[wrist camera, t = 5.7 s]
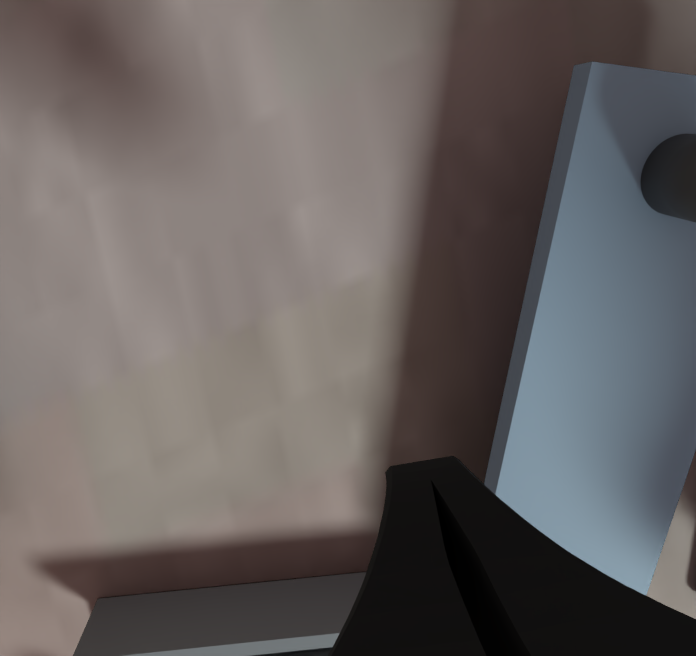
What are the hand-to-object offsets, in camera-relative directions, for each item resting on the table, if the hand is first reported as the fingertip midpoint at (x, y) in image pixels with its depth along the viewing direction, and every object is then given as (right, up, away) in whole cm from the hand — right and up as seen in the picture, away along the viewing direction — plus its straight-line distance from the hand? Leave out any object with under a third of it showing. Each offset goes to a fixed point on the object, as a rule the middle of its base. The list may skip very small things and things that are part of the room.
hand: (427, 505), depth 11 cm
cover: (+6, +1, +7) cm, 9 cm away
